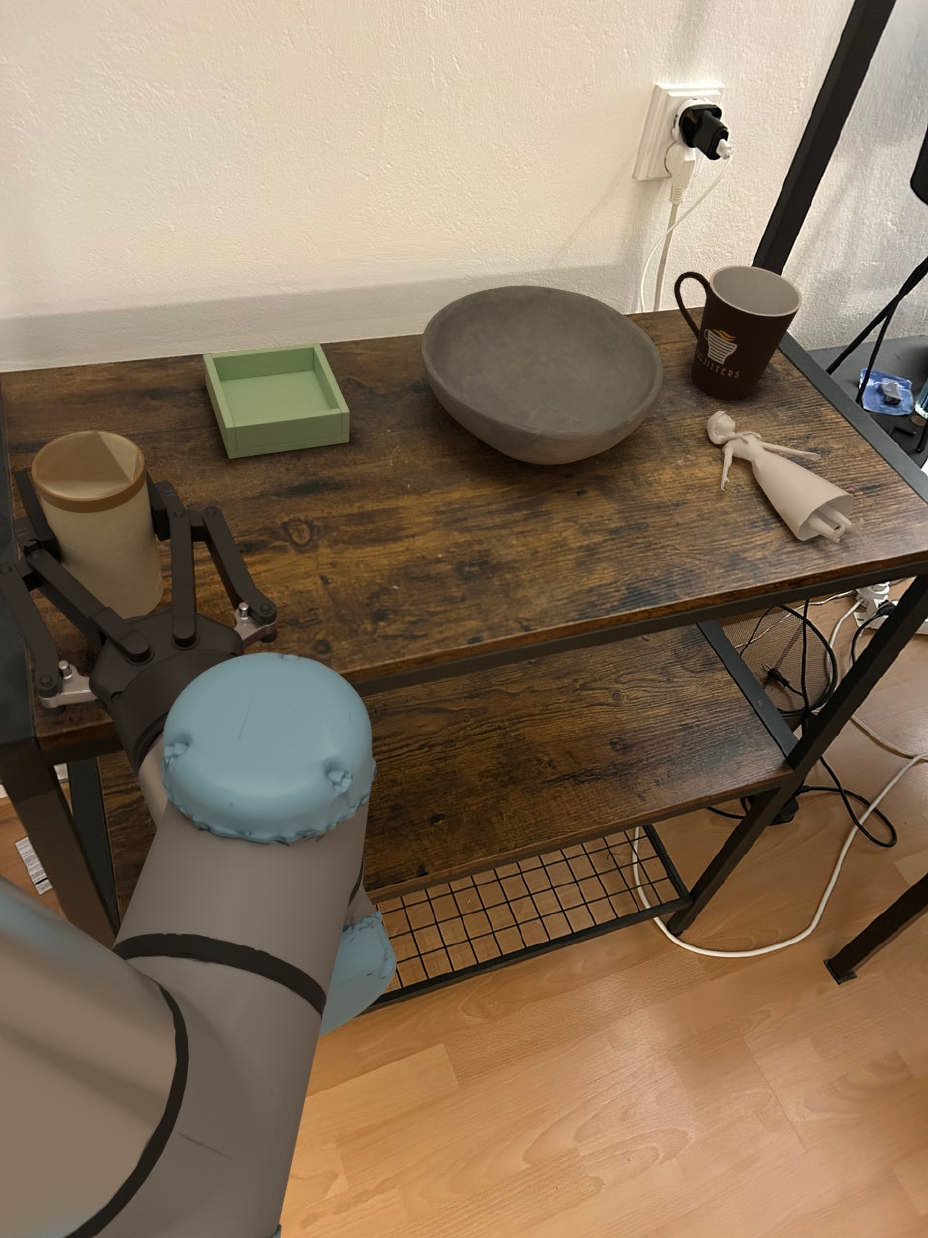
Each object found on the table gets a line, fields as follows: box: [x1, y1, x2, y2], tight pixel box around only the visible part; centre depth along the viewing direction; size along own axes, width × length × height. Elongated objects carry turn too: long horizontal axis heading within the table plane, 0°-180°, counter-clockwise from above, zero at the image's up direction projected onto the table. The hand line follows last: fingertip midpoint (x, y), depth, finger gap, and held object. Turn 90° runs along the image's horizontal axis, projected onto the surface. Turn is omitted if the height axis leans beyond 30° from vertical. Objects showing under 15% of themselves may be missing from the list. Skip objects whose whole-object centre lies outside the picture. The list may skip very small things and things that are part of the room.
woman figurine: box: [706, 410, 866, 544], centre depth 85 cm, size 12×4×18 cm
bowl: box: [420, 285, 664, 466], centre depth 86 cm, size 21×21×8 cm
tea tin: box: [31, 430, 165, 619], centre depth 60 cm, size 6×6×11 cm
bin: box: [202, 341, 351, 460], centre depth 85 cm, size 10×10×3 cm
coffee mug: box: [673, 264, 803, 401], centre depth 94 cm, size 12×9×10 cm
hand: (78, 474), depth 63 cm, fingers closed on tea tin, 6 cm apart
